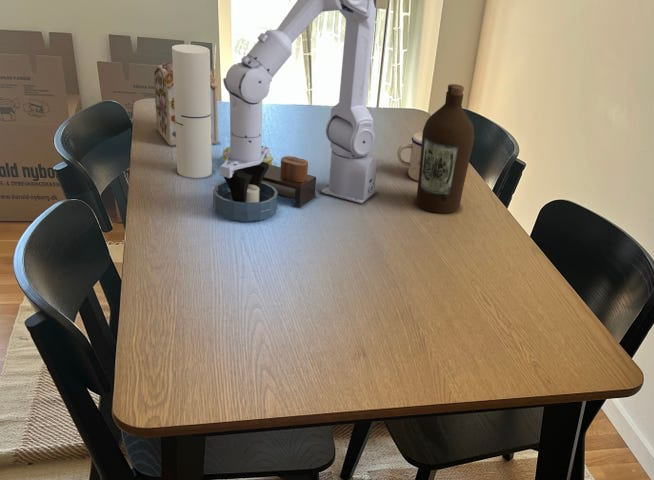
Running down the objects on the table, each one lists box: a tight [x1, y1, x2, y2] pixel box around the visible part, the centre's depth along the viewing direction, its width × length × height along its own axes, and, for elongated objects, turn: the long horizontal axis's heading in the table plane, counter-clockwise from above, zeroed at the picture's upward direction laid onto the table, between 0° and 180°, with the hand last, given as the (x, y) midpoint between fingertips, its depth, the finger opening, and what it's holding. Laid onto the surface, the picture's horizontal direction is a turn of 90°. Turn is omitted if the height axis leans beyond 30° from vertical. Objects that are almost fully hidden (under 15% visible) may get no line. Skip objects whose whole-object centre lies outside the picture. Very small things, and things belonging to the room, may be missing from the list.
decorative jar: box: [153, 61, 219, 147], centre depth 173 cm, size 12×12×18 cm
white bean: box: [231, 184, 260, 203], centre depth 146 cm, size 6×4×4 cm
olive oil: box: [415, 83, 475, 214], centre depth 155 cm, size 11×11×25 cm
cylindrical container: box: [171, 43, 213, 179], centre depth 154 cm, size 7×7×25 cm
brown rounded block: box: [280, 155, 309, 182], centre depth 152 cm, size 6×4×4 cm
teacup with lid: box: [396, 131, 423, 182], centre depth 172 cm, size 12×9×12 cm
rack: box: [262, 164, 317, 209], centre depth 155 cm, size 16×7×4 cm, turn 69°
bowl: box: [212, 180, 279, 222], centre depth 147 cm, size 12×12×4 cm
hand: (245, 202), depth 147 cm, fingers closed on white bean, 4 cm apart
